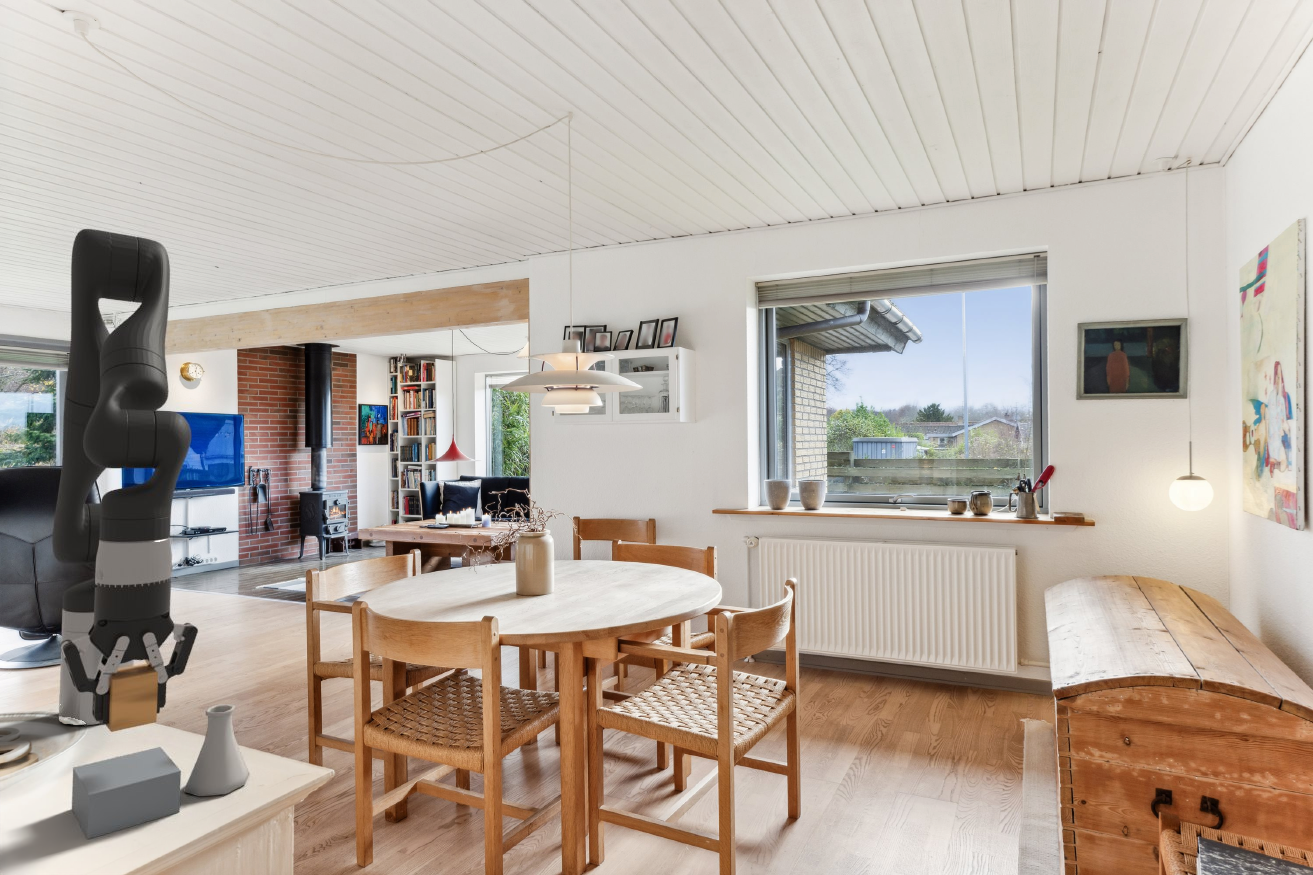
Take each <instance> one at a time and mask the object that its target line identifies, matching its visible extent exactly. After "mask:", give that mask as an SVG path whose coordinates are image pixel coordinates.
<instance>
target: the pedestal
mask: <svg viewBox="0 0 1313 875" xmlns="http://www.w3.org/2000/svg"><path fill="white" fill-rule="evenodd" d="M181 776H182V770H181V769H180V768H179V767H178V766H177V764H176V763H175V762H174V761H173V759H172V758H170V756H169V755H168V754H167V753H166V752H165V751H164V749H163V748H162V747H161V746H158V747H154V748H150V749H145V750H141V751H136V752H133V753H129V754H124V755H120V756H116V757H112V758H107V759H104V760H103V759H102V760H99V761H95V762H91V763H87V764H83V765H78V766H75V767H72V787H71V788H72V793H71V795H72V796H71V810H72V812H73V814H74V816H75V818H76V820H77V821H78V823H79V826H80V828H81V829H82V831H83V834H84V835H85V838H86V840H90V839H94V838H96V837H97V838H98V837H99V836H103V835H107V834H110V833H114V832H117V831H119V830H122V829H126V828H130V827H133V826H137V825H140V824H141V825H142V824H143V823H147V822H150V821H154V820H157V819H160V818H164V817H167V816H171V815H174V814H177V813H180V808H181V807H180V805H181V804H180V802H181V783H182V782H181Z"/></svg>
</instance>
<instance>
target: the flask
mask: <svg viewBox="0 0 1313 875" xmlns="http://www.w3.org/2000/svg"><path fill="white" fill-rule="evenodd" d="M235 708H236V705H233V704H227V703H226V704H216V705H213V706H210V707H208V708H207V709H206V710H205V716H206V717H207V729H206V733H205V737H204V741H203V743H202V746H201V749H200V751H199V753H198V755H197V756H198V757H197V759H196V762H195V763H194V766H193V769H192V771H191V773H190V775H189V778H188V780H187V782H186V785H185V787H184V790H183V792H184V793H187V794H191V795H194V796H197V797H206V796H218V795H226V794H229V793H230V792H233V791H235V790H236V789H238V788H240V787H242V786H244V785H246V784H247V781H248V780H249V777H250V771H249V768H248V766H247V764H246V762H245V759H244V756H243V754H242V751H241V750H240V747H239V744H238V741H237V738H236V736H235V733H234V727H233V721H232V720H233V712H234V711H235Z"/></svg>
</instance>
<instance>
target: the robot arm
mask: <svg viewBox="0 0 1313 875" xmlns="http://www.w3.org/2000/svg"><path fill="white" fill-rule="evenodd" d="M71 252H72V253H71V262H70V263H71V264H70V270H71V271H70V272H71V273H70V276H71V277H70V290H71V291H70V303H71V304H70V312H71V314H70V321H71V322H70V323H71V324H70V325H71V326H70V345H69V346H70V348H69V356H68V363H67V364H68V366H67V376H66V382H65V384H66V385H65V389H64V390H65V392H64V402H63V403H64V404H63V405H64V406H63V423H62V424H63V426H62V427H63V428H62V459H61V469H60V470H61V473H60V480H59V486H58V492H57V501H56V507H55V513H54V520H53V521H54V522H53V528H52V540H51V542H52V552H53V555H54V558H55V559H56V561H58V562H59V563H60V564H64V565H82V564H83V565H85V564H95V575H94V577H93V578H91V579H88V580H87V581H82V582H80V583H78V584H75V585H73V586H72V585H71V587H69V588H67V589H66V590H65V591H64V593H63V596H62V609H61V610H62V612H61V613H62V614H61V615H62V618H61V641H60V644H59V648H60V674H59V677H60V678H59V699H58V717H59V716H62V717H71V718H75V719H78V720H82V721H84V722H85V723H86V724H87V725H86V726H90V725H98V724H100V726H106V724H109V709H110V693H109V692H108V689H109V687H110V684H111V678H113V677H114V675H115V674H116V672H117V670H118V669H119V668H125V667H131V666H135V665H134V662H135V661H145V664H147V665H148V667H151V668H152V670H153V671H155V670H156V671H157V672H158V691H157V714H159V713H160V711H161V709H162V708H164V707H165V706H166V703H167V682H168V680H170V679H171V678H172V677H175V676H180V675H182V674H183V673H184V672H185V670H186V667H187V664H188V661H189V658H190V655H191V653H192V650H193V646H194V644H195V640H196V639H197V636H198V633H199V629H198V627H197V626H195V625H193V623H190V622H185V623H176V622H174V621H173V619H172V618H171V592H172V573H173V567H174V566H173V562H172V560H173V558H172V557H173V555H172V546H171V545H172V544H171V524H172V521H171V520H172V506H173V505H172V504H173V499H174V494H175V490H176V489H175V488H176V486H177V482H178V478H179V475H180V473H181V470H182V467H183V465H184V462H185V460H186V458H187V455H188V452H189V451H190V450H189V449H190V447H191V446H190V445H191V442H192V431H191V430H192V429H191V427H190V424H189V422H188V421H187V420H186V418H185V416H183V415H181V414H180V413H178V412H175V411H171V410H159V409H161V408H162V407H164V405H165V404H166V403H167V401H168V398H169V380H168V372H167V362H166V335H167V327H168V318H169V305H170V303H169V301H170V281H171V280H170V279H171V266H170V259H169V258H170V257H169V254H168V251H167V249H166V248H165V246H164V245H163V244H162V243H160V242H159V241H157V240H153V239H150V238H145V237H141V236H140V237H139V236H135V235H130V234H129V235H128V234H123V233H118V232H111V231H106V230H100V229H93V228H84V229H81V230H79V232H78V233H77V234H76V236H75V238H74V241H73V244H72V251H71ZM100 299H106V300H111V301H120V302H121V301H122V302H128V303H137V304H138V303H140V305H139V306H138V308H137V309H135V311H133V313H132V314H131V315H130V316H129V317H127V319H125V320H124V321H122V322H121V324H119V325H118V326H117V327H116V328H114V329H113V331H111V332H109V330H108V328H107V326H106V323H105V322H104V319H103V317H102V314H101V311H100V307H99V302H100ZM106 469H154V470H153V473H152V475H151V477H150V478H148V479H147V481H144V482H143V483H141V484H140V483H139V484H137V485H132V486H127V487H122V488H116V489H113V490H110V491H107V492H105V493H104V495H103V496H102V498H101V501H100V502H98V503H86V500H87V497H88V496H89V493H90V492H91V490H92V487H93V486H94V484H95V483H96V481H97V480H98V479H99V477H100V476H101V475H102V473H104V472H105V471H106ZM172 633H173V635H172V636H173V637H172V638H173V639H174V641H175V642H176V643H175V645H174V647H173V650H172V654H171V657H170V659H169V662H168V664H166V665H164V660H163V656H162V654H161V652H160V648H161V647H162V645H163V644H164V643H165V641H166V640H167V639H168V638H169V636H170V635H171V634H172ZM60 704H61V705H60Z"/></svg>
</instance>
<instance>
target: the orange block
mask: <svg viewBox="0 0 1313 875" xmlns="http://www.w3.org/2000/svg"><path fill="white" fill-rule="evenodd" d="M157 691H158V672H157V671H156V670H155V671H153V670H152V668H151V667H148V665H147V663H144V664H137V665H133V666H131V667H125V668H119V669H118V670H117V672H116V674H115V675H114V677H113V678H111V684H110V687H109V689H108V692H109V693H110V709H109V724H106V725H105V726H106V727H107V729H108V730H109V731H110V732H111V733H113V732H118V731H122V730H126V729H131V728H136V727H141V726H144V725H151V724H155V723H157V720H158V719H157V718H158V716H157V714H158V713H157Z"/></svg>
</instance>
